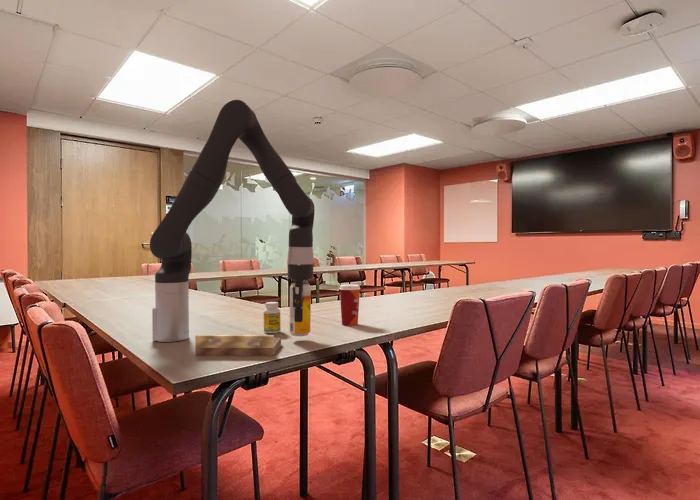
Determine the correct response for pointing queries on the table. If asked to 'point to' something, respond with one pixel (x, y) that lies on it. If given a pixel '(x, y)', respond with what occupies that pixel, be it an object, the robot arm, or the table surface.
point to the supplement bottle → (272, 318)
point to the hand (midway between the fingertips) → (300, 319)
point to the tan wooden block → (236, 345)
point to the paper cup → (349, 304)
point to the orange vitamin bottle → (303, 326)
